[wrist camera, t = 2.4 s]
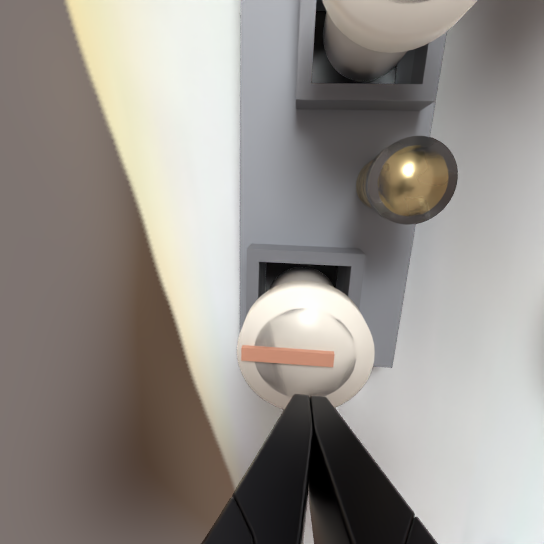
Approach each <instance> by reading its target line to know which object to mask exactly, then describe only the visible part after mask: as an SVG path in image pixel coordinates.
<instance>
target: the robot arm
mask: <svg viewBox="0 0 544 544" xmlns="http://www.w3.org/2000/svg"><path fill="white" fill-rule="evenodd" d="M308 492H309V504H310V513H311V521H312V529H313V538H314V544H438V543H437V542H436V541H435V539H434V538H433V537H432V535H431V534H430V533H429V532H428V530H427V529H426V528H425V526H424V525H423V524H422V522H421V521H420V520H419V518H418V517H414V516H415V514H414V512H413V511H412V509H411V508H410V507H409V505H408V504H407V503H406V501H405V500H404V499H403V497H402V496H401V495H400V493H399V492H398V491H397V490H396V488H395V487H394V486H393V484H392V483H391V482H390V480H389V479H388V478H387V476H386V475H385V474H384V472H383V471H382V470H381V468H380V467H379V466H378V464H377V463H376V462H375V460H374V459H373V458H372V457H371V455H370V454H369V453H368V451H367V450H366V449H365V447H364V446H363V445H362V443H361V442H360V441H359V439H358V438H357V437H356V435H355V434H354V433H353V431H352V430H351V429H350V427H349V426H348V425H347V424H346V422H345V421H344V420H343V418H342V417H341V416H340V414H339V413H338V412H337V410H336V409H335V408H334V406H333V405H332V404H331V402H330V401H329V400H328V398H327V397H325V396H317V395H312V396H310V397H309V396H308V395H304V394H294V395H293V396H292V398H291V399H290V401H289V403H288V404H287V406H286V408H285V409H284V411H283V413H282V414H281V416H280V418H279V419H278V421H277V422H276V424H275V426H274V427H273V429H272V431H271V432H270V434H269V436H268V437H267V439H266V441H265V442H264V444H263V445H262V447H261V449H260V450H259V452H258V454H257V455H256V457H255V459H254V460H253V462H252V464H251V465H250V467H249V468H248V470H247V472H246V473H245V475H244V477H243V478H242V480H241V482H240V483H239V485H238V487H237V488H236V490H235V491H234V493H233V496H232V498H230V499H229V501H228V503H227V504H226V506H225V508H224V509H223V511H222V512H221V514H220V516H219V517H218V519H217V520H216V522H215V523H214V525H213V527H212V528H211V530H210V531H209V533H208V534H207V536H206V537H205V539H204V540H203V542H202V543H201V544H303V540H304V530H305V519H306V509H307V498H308Z"/></svg>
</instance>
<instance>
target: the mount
mask: <svg viewBox="0 0 544 544" xmlns="http://www.w3.org/2000/svg"><path fill="white" fill-rule="evenodd" d="M316 11H326V8H325V6H324V4H323V1H322V0H241V91H240V332H241V329H242V326H243V324H244V321H245V319H246V316H247V314H248V312H249V310H250V308H251V307H252V305H253V304H254V303H255V301H256V300H257V299H258V298H259V297H260V296H261V295H263V294H264V293H265V292H266V262H275V263H295V264H315V265H335V266H338V271H337V281H336V289H338V290H340V291H341V292H343V293H344V294H345V295H347V296H348V297H349V298H350V299H351V300H352V301H353V302H354V304H355V305H356V306H357V307H358V309H359V311H360V313H361V314H362V316H363V318H364V320H365V322H366V324H367V326H368V328H369V330H370V332H371V335H372V338H373V342H374V350H375V356H374V364H373V366H375V367H389V368H392V366H393V360H394V354H395V347H396V341H397V335H398V329H399V323H400V317H401V311H402V304H403V298H404V292H405V286H406V280H407V274H408V268H409V261H410V255H411V249H412V243H413V237H414V231H415V225H416V224H411V225H405V224H398V223H395V222H392V221H389V220H386V219H384V218H383V217H381V216H380V215H378V214H377V213H376V212H375V211H374V210H373V208H370V207H368V206H366V205H365V204H364V203H363V202H362V201H361V200H360V198H359V197H358V194H357V190H356V181H357V177H358V175H359V173H360V171H361V170H362V168H363V167H364V166H365V165H366V164H367V163H369V162H370V161H372V160H374V159H375V157H376V156H377V155H378V154H379V153H380V152H381V151H382V150H383V149H384V148H386V147H387V146H389V145H390V144H392V143H395V142H397V141H399V140H401V139H404V138H407V137H411V136H427V137H430V133H431V126H432V120H433V114H434V108H435V102H436V96H437V90H438V84H439V77H440V71H441V65H442V59H443V53H444V47H445V41H446V34H447V32H446V33H444V34H443V35H441V36H440V37H438V38H437V39H435V40H434V41H432V42H430V43H428V44H426V45H424V46H421V47H419V48H416V49H413V50H409V51H407V52H406V54H405V55H404V56H403V57H402V59H401V60H400V61H399V62H398V63H397V70H396V78H395V84H350V83H311V82H312V65H313V48H314V32H315V15H316Z"/></svg>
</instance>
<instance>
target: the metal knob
mask: <svg viewBox="0 0 544 544" xmlns="http://www.w3.org/2000/svg"><path fill="white" fill-rule="evenodd" d="M457 178H458V171H457V165H456V161H455V159H454V157H453V155H452V153H451V152H450V150H449V149H448V148H447V147H446V146H445V145H444V144H443V143H441V142H440V141H438V140H436V139H434V138H431V137H427V136H411V137H407V138H404V139H401V140H399V141H397V142H395V143H392V144H390V145H389V146H387V147H386V148H384V149H383V150H382V151H381V152H380V153H379V154H378V155H377V156H376V157H375V159H374V160H372V161H370V162H369V163H367V164H366V165H365V166H364V167H363V168H362V170H361V171H360V173H359V175H358V177H357V181H356V190H357V194H358V197H359V198H360V200H361V201H362V202H363V203H364V204H365V205H366V206H368V207H370V208H373V210H374V211H375V212H376V213H377V214H378V215H380V216H381V217H383V218H384V219H386V220H389V221H392V222H395V223H398V224H405V225H411V224H418V223H421V222H424V221H427V220H429V219H431V218H433V217H434V216H436V215H437V214H438V213H439V212H441V211H442V210H443V209H444V208H445V206H446V205H447V204H448V203H449V201H450V200H451V198H452V196H453V194H454V191H455V188H456V185H457Z"/></svg>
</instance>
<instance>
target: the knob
mask: <svg viewBox="0 0 544 544" xmlns="http://www.w3.org/2000/svg"><path fill="white" fill-rule="evenodd" d="M374 356H375V350H374V342H373V338H372V335H371V332H370V330H369V328H368V326H367V324H366V322H365V320H364V318H363V316H362V314H361V313H360V311H359V309H358V307H357V306H356V305H355V304H354V302H353V301H352V300H351V299H350V298H349V297H348V296H347V295H345V294H344V293H343V292H341V291H340V290H338V289H336V288H334V287H333V285H332V283H331V281H330V280H329V279H328V278H327V277H326V276H325V275H324V274H323V273H321V272H320V271H318V270H315V269H313V268H309V267H295V268H291V269H288V270H286V271H284V272H282V273H281V274H280V275H278V276H277V277H276V278H275V280H274V281H273V283H272V284H271V286H270V289H269V290H268V291H267V292H265V293H264V294H263V295H261V296H260V297H259V298H258V299H257V300H256V301H255V303H254V304H253V305H252V307H251V308H250V310H249V312H248V314H247V316H246V319H245V321H244V324H243V326H242V329H241V332H240V334H239V338H238V342H237V359H238V364H239V368H240V370H241V373H242V375H243V377H244V379H245V381H246V382H247V383H248V385H249V386H250V388H251V389H252V390H253V391H254V392H255V393H256V394H257V395H259V396H260V397H261V398H262V399H264V400H265V401H267V402H268V403H270V404H272V405H274V406H276V407H279V408H281V409H285V408H286V406H287V404H288V403H289V401H290V399H291V398H292V396H293V395H294V394H304V395H308V396H309V397H310V396H312V395H317V396H325V397H327V398H328V400H329V401H330V402H331V404H332V405H333V406H334V408H335V407H337V406H340V405H342V404H343V403H345V402H347V401H348V400H350V399H351V398H352V397H354V396H355V395H356V394H357V393H358V392H359V391H360V390H361V389H362V387H363V386H364V385H365V383H366V382H367V380H368V378H369V376H370V374H371V371H372V368H373V364H374Z"/></svg>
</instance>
